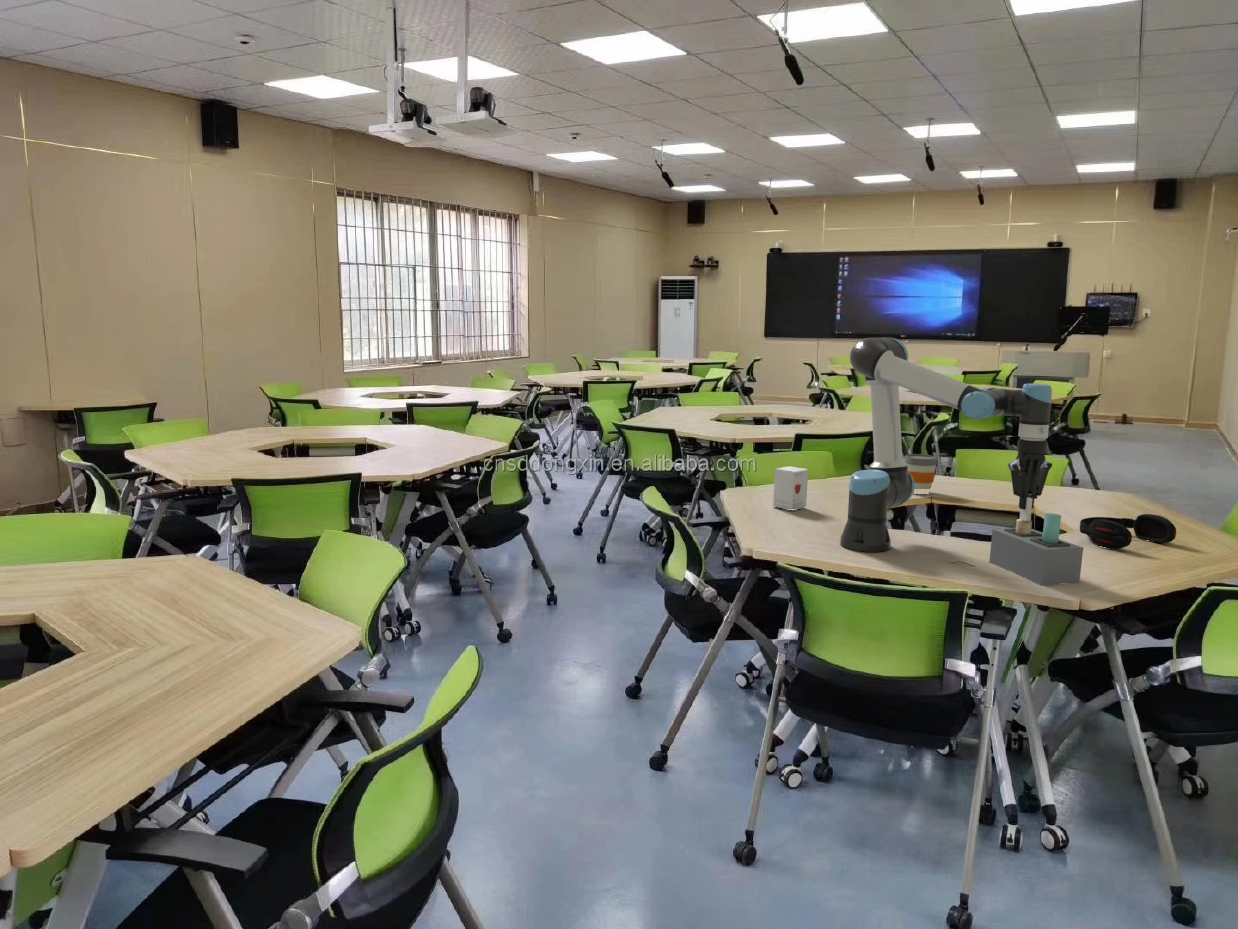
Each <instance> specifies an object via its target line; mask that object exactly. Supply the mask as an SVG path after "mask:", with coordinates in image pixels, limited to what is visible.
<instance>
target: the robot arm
mask: <svg viewBox="0 0 1238 929" xmlns="http://www.w3.org/2000/svg"><path fill="white" fill-rule="evenodd" d="M849 360H850V361H849V362H850V364H851V367H852V368H853V369H854V371H855V372H856V373H858V374H860V375H862V376H864V380H865V381H864V382H865V383H866V384H867V385H868V386H869V387H870V402H871V404H870V406H871V421H872V422H871V423H872V425H871V426H872V439H873V440H872V441H873V442H872V443H873V462H872V463H870V465H869V469H866V470H864V469H861V470H857V471H855V472H854V473H852V474H851V476H850V481H849V484H848V508H847V519H846V520H847V521H846V523H845V525H844V528H843V531H842V533H841V536H840V540H839V541H840V545H841V546H842V547H843V546H844V548H845V547H847V548H846V549H848V548H850V549H849V550H852V551H856V550H857V551H858V552H866V553H881V552H882V553H883V552H887V551H889V550H890V549H891V542H892V541H891V537H890V533H889V529H888V526H887V515H888V509H891V508H893V507H898V506H902V505H903V504H904V503H906V502H908V501H909V500H910V499H911V497H912V496H913V495H914V494H913V492H914V488H915V484H914V479H913V477H912V475H910V474H909V472H908V465H907V463H906V462H905V460H904V458H903V446H902V431H901V430H902V427H901V424H902V423H901V409H900V388H899V387H902V388H905V390H910V391H911V392H913V393H916V394H919V395H921V396H924V397H925V398H929V399H931V400H934V401H936V402H938V403H941V404H944V405H946V406H949V407H951V408H953V409H956V410H958V411H959V412H962V413H963V414H964V416H966V417H967V418H970V419H972V420H984V419H986V418H987V419H988V418H990V417H997V416H1010V417H1019V425H1018V434H1017V436H1018V437H1019V438H1018V440H1017V444H1016V446H1017V448H1016V450H1017V456H1016V457H1015V459H1016V460H1014V461H1013V462H1008V464H1007V466H1008V468H1009V471H1010V476H1011V483H1012V484H1011V485H1012V493H1013V495H1014V496H1017V497H1019V501H1018V502H1019V504H1018V508H1019V509H1020V510H1019V519H1021V520H1024V521H1030V520H1031V521H1032V509H1034V507H1035V499H1036V500H1037V499H1038V497H1040V496H1042V494H1043V490H1044V488H1045V484H1046V481H1047V477H1048V475H1049V474H1048V473H1049V471H1050V470H1051V468H1052V467H1053V463H1051V462H1049V461H1047V460H1046V456H1045V454H1046V453H1047V448H1048V441H1047V439H1048V438H1049V428H1050V418H1051V416H1050V415H1051V408H1052V404H1053V403H1052V402H1053V399H1052V395H1053V394H1052V393H1053V388H1052V386H1051V385H1049V384H1046V383H1024V384H1023V385H1022V388H1021V389H1009V388H1008V389H1007V388H996V387H983V388H981V389H980V388H979V387H976V386H973V385H971V384H968V383H965V382H963V381H960V380H958V379H954V378H952V377H950V376H947V375H944V374H941V373H940V372H937V371H935V370H932V369H929V368H926V367H924V366H921V365H919V364H917V363H913V362H911V361H909V353H908V350H907V347H906V346H905V345H904V343H903V342H902V341H900V340H899V339H896V338H894V337H890V336H883V337H866V338H862V339H860V340H859V341H858V342H856V343H855V344H854V345H853V347H852V348H851V350H850V353H849Z"/></svg>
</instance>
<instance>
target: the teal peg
mask: <svg viewBox="0 0 1238 929" xmlns="http://www.w3.org/2000/svg"><path fill="white" fill-rule="evenodd" d="M1043 520H1044V521H1043V529H1042V533H1043V537H1042V542H1044V543H1046V544H1058V540H1059V539H1060V529H1061V522H1062V515H1061V514H1058V513H1047V512H1046V513H1045V514H1044V519H1043Z"/></svg>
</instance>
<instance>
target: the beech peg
mask: <svg viewBox="0 0 1238 929" xmlns="http://www.w3.org/2000/svg"><path fill="white" fill-rule="evenodd" d="M1032 525H1033V520H1032V519H1031V520H1030V521H1024V520H1021V519H1020V518H1017V519H1016V524H1015V528H1016V532H1017V533H1020V534H1031V529H1032V527H1033V526H1032Z"/></svg>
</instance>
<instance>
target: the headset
mask: <svg viewBox="0 0 1238 929" xmlns="http://www.w3.org/2000/svg"><path fill="white" fill-rule="evenodd" d="M1079 521H1080V522H1079V532H1080V533H1081V534H1083V535H1086V536H1087V537H1088V538H1089V539H1090V541H1091V543H1092V544H1093V545H1095V546H1097V547H1100V546H1102V547H1101V548H1103V547H1106V548H1109V549H1108V550H1121V549H1124V548H1126V547H1129V546H1130V545H1131V543H1132V541H1133V536H1132V532H1131V531H1130V530H1129V529H1133V533H1134V535H1135V537H1136V538H1138V539H1139V540H1142V539H1143V540H1142V541H1145V540H1149V541H1153V542H1152V543H1154V542H1157V543H1156V544H1168V543H1171V542H1172V541H1174V540H1175V539H1176V536H1177V529H1176V526H1175V525H1174V524H1173V522H1172V521H1170V520H1169V519H1168V518H1166V517H1164V516H1162V515H1158V514H1157V515H1156V514H1152V513H1143V514H1139V515H1138V516H1136V518H1135V519H1133V518H1126V517H1121V518H1120V517H1109V516H1108V517H1107V516H1106V517H1105V516H1092V517H1086V518H1083V519H1081V520H1079ZM1139 540H1136V539H1134V541H1136V542H1139ZM1149 541H1148V542H1149ZM1106 548H1105V549H1106Z"/></svg>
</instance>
